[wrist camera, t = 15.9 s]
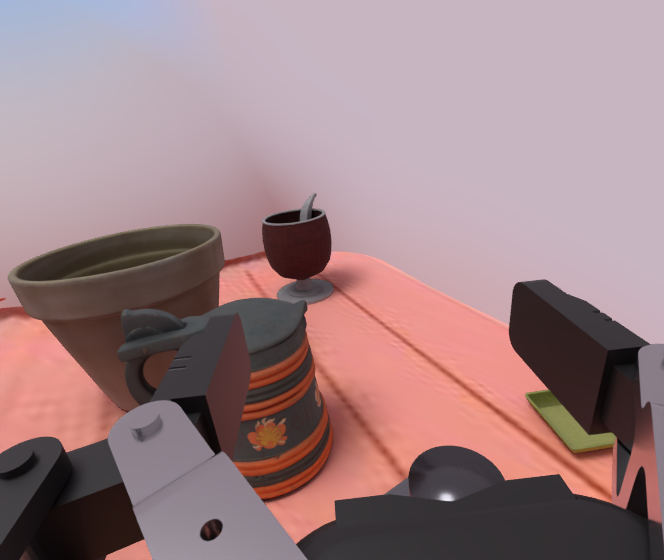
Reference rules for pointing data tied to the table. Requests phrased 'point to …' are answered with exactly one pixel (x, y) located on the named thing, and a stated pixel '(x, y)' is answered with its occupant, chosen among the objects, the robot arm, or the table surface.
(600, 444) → the olive green shallow tray
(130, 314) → the beer stein
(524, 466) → the table surface
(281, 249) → the mate gourd
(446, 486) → the glass jar with lid
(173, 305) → the plant pot
